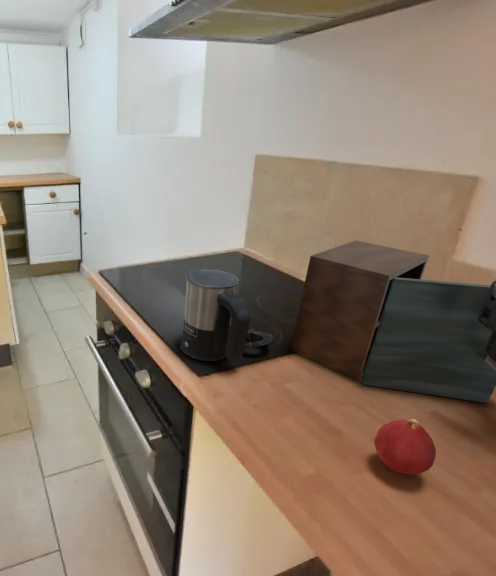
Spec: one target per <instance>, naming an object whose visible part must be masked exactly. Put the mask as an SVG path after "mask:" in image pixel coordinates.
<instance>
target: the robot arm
mask: <svg viewBox="0 0 496 576" xmlns="http://www.w3.org/2000/svg"><path fill="white" fill-rule="evenodd" d="M490 285H491V286H490V289H489V291H488V294H487V296H486V299H485V301H484V304H483V306H482V308H481V311H480V313H479V316H478V321H479V322H480V323H481V324H483V325H484V326H485V327H486V328H487V329H489V330H490V331H492V334H491V336H490V338H489V341H488V343H487V345H486V347H485V349H486V352H487V353H488V356H489V357H490V358H491V359H492V360H493V361H495V362H496V280H494V281H492V282H491V284H490Z"/></svg>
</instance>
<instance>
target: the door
mask: <svg viewBox="0 0 496 576" xmlns="http://www.w3.org/2000/svg"><path fill="white" fill-rule="evenodd" d="M490 286H491V284H481V283H480V284H478V283H468V282H455V281H444V280H433V279H432V280H431V279H410V278H398V277H393V281H392V284H391V287H390V290H389V294H388V297H387V300H386V303H385V307H384V310H383V313H382V316H381V320H380V323H379V326H378V329H377V333H376V336H375V339H374V342H373V345H372V349H371V352H370V355H369V358H368V362H367V365H366V368H365V371H364V375H363V377H362V378H361V383H362V385H364V386H370V387H378V388H384V389H390V390H391V389H392V390H397V391H404V392H410V393H418V394H423V395H430V396H437V397H444V398H449V399H455V400H456V399H457V400H464V401H471V402H477V403H483V404H488V403H489V400H490V399H491V397H492V394H493V393H494V391H495V389H496V362H495V361H493V360H492V359H491V358H490V357H489V356H488V353H487V352H486V349H485V347H486V345H487V343H488V341H489V338H490V336H491V334H492V331H490V330H489V329H487V328H486V327H485V326H484V325H483V324H481V323H480V322H479V321H478V316H479V313H480V311H481V308H482V306H483V304H484V301H485V299H486V296H487V294H488V291H489V289H490Z"/></svg>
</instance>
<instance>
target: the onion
mask: <svg viewBox="0 0 496 576" xmlns="http://www.w3.org/2000/svg"><path fill="white" fill-rule="evenodd" d="M373 445H374V447H375V450H376V455H378V457H379V458H380V460H382V462H383V463H384V465H386V466H387V467H388V468H389V469H390V470H391V471H392V472H394V473H396V474H404V475H421V474H422V473H426V472H427V471H429V470H430V469H431V468H432V467H433V466H434V463H435V460H436V457H437V455H436V454H437V448H436V445H435V443H434V441H433V438H432V437H431V435H430V434H429V433H428V431H427V430H426V429H425V428H424V427H423V426H422V425H421V424H420V423H419V421H418V420H416V419H415V418H410V419H407V420H405V419H396V420H391V421H389V422H387V423H385V424H383V425H382V426H381V427H380V428H378V430H377V432H376V435H375V437H374V444H373Z"/></svg>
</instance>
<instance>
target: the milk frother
mask: <svg viewBox="0 0 496 576" xmlns="http://www.w3.org/2000/svg"><path fill="white" fill-rule="evenodd" d="M185 280H186V285H185V297H184V298H185V299H184V316H183V328H182V337H181V342H180V345H179V347H180V350H181V351H182V353H183V354H185V355H186V356H188V357H190V358H192V359H195V360H197V361H205V362H215V361H216V362H217V361H220V360H224V359H228V360H230V361H232V360H237V359H240V358H241V357H243V356H244V351H245V349H254V348H259V347H264V346H265V345H269V344H270V343H272V342H273V340H274V338H273V335H272V334H271V333H269V332H267V331H258V330H256V329H255V328H252V329H250V324H251V320H252V319H251V318H252V316H251V309H250V307H249V305H248V302H247V301H246V300H245V299H244V297H242V296H241V295H239V294H237V293H236V289H237V285H238V283H239V278H238V277H237V276H236V275H235V274H232V273H230V272H227V271H223V270H217V269H205V268H204V269H196V270H191V271H189V272H187V273H186V274H185ZM247 338H248V341H247Z"/></svg>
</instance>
